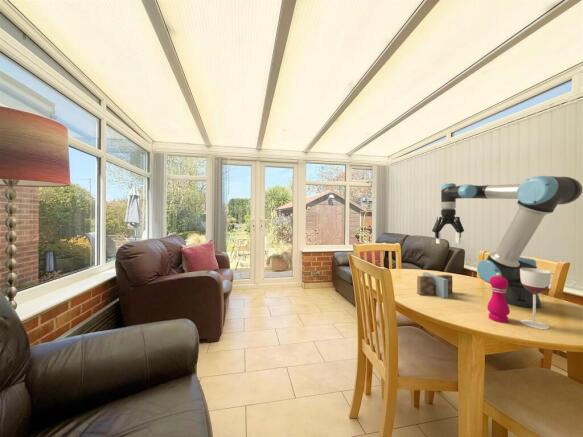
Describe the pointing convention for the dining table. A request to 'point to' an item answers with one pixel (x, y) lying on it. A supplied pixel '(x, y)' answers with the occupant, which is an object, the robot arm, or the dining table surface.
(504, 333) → the dining table surface
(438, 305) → the dining table surface
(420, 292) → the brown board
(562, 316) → the dining table surface
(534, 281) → the wineglass
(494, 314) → the pepper mill
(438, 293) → the crosspiece
